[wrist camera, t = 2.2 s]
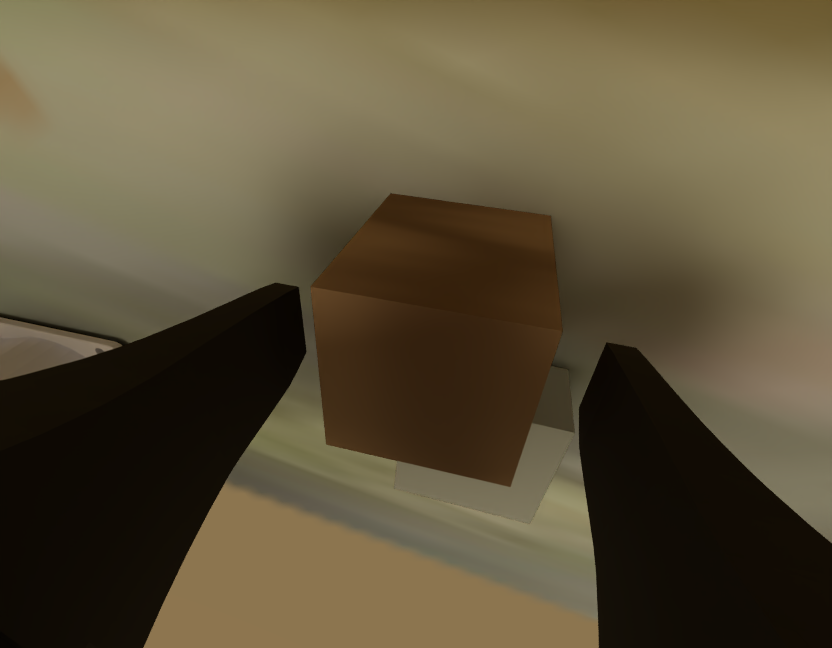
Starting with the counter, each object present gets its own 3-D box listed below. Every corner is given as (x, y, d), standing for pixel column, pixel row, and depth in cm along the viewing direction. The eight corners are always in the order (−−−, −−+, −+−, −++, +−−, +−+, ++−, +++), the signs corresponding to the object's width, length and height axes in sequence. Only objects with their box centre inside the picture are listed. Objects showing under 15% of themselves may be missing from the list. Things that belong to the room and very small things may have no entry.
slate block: (412, 426, 18) (394, 488, 15) (424, 334, 15) (404, 393, 12) (530, 455, 17) (529, 524, 15) (567, 365, 14) (574, 433, 12)
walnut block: (387, 320, 15) (326, 444, 10) (390, 192, 12) (310, 286, 8) (517, 343, 14) (510, 487, 10) (550, 214, 11) (562, 331, 7)
